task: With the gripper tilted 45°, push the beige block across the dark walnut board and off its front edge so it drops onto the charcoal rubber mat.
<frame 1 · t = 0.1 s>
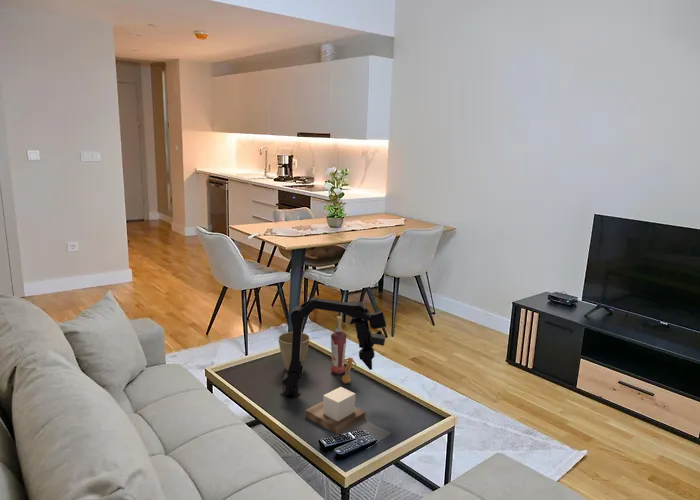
hand: (370, 364, 218), 15 cm above the table, tool pointing down, fingers open, 9 cm apart
plant pot: (293, 368, 248), on the table
beige block: (339, 412, 203), point 3 cm above the table, touching walnut board
liquor: (337, 372, 245), on the table
figurine: (347, 382, 235), on the table
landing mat: (365, 433, 195), on the table
walnut board: (335, 417, 205), on the table
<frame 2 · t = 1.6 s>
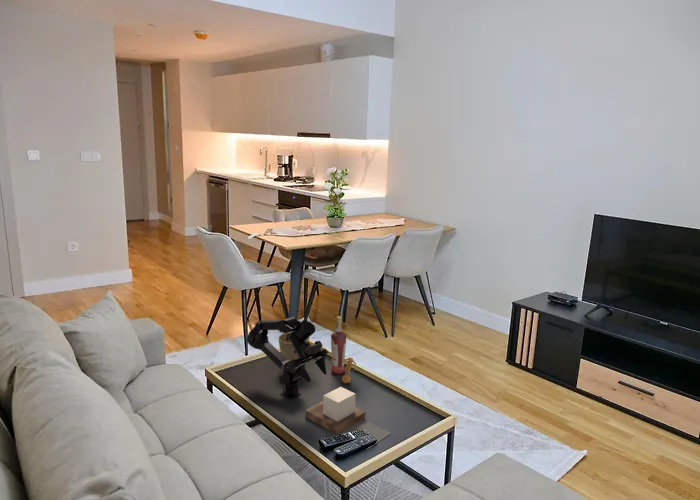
hand: (318, 377, 209), 13 cm above the table, tool tilted 45°, fingers open, 9 cm apart
nothing on the table moved.
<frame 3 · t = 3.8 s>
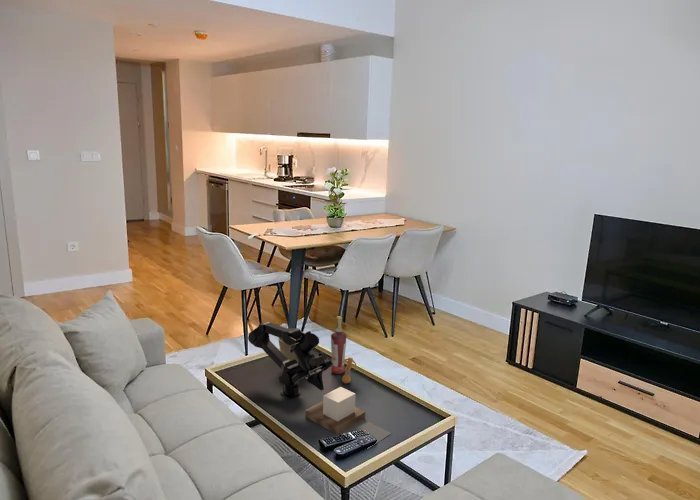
hand: (322, 390, 208), 9 cm above the table, tool tilted 45°, fingers closed
nothing on the table moved.
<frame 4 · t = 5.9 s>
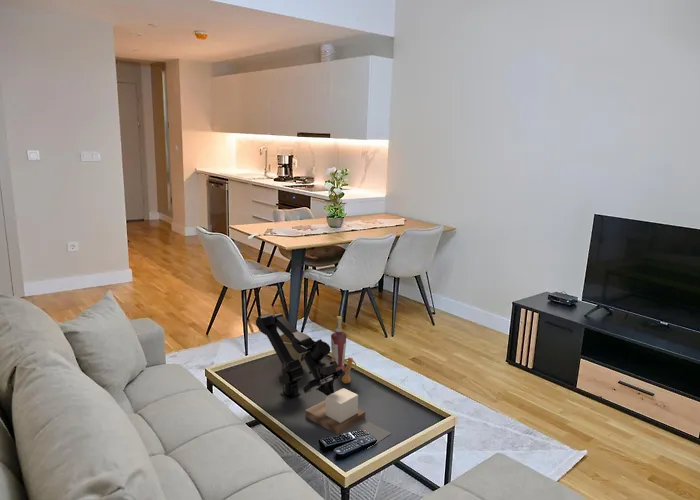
hand: (334, 399, 204), 8 cm above the table, tool tilted 45°, fingers closed, pressing on beige block
beige block: (341, 414, 202), point 3 cm above the table, touching gripper
everything else where it was.
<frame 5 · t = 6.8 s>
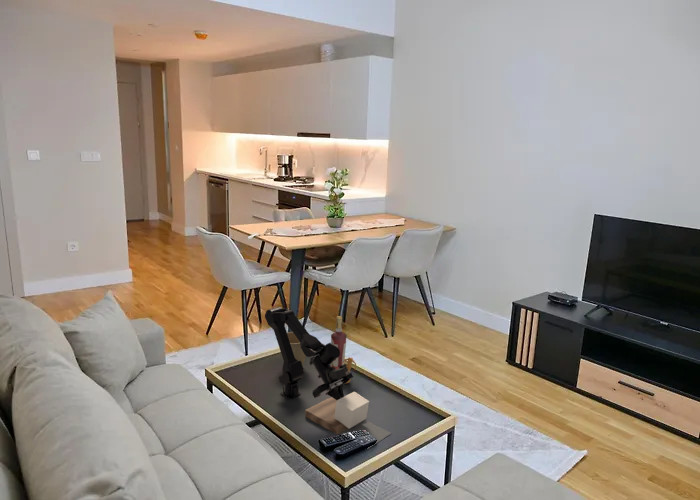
hand: (343, 403, 200), 8 cm above the table, tool tilted 45°, fingers closed, pressing on beige block
beige block: (350, 418, 199), point 3 cm above the table, tilted 8°, touching gripper
everything else where it was.
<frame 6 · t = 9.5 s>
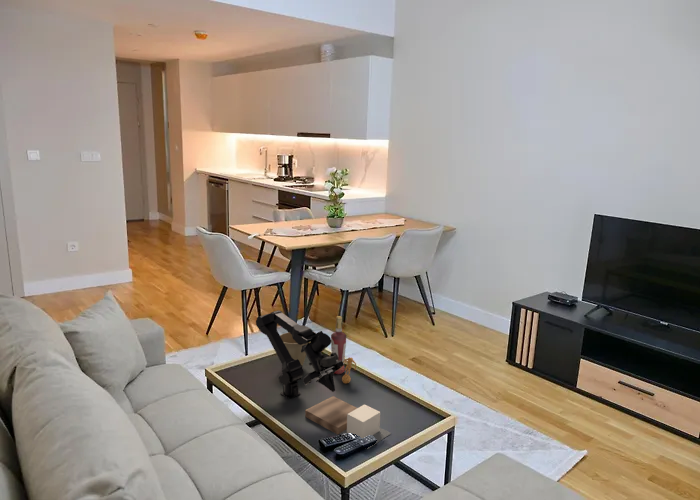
hand: (334, 391, 203), 11 cm above the table, tool tilted 45°, fingers closed
beige block: (355, 418, 197), point 4 cm above the table, tilted 90°, touching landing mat
everything else where it was.
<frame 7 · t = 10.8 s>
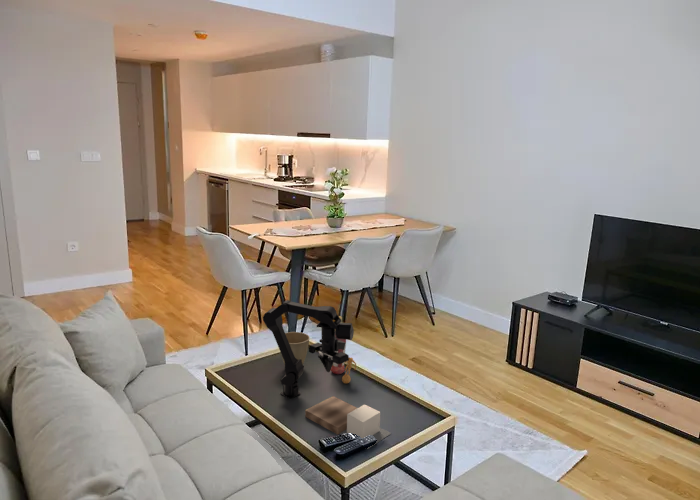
hand: (328, 371, 216), 13 cm above the table, tool pointing down, fingers closed
nothing on the table moved.
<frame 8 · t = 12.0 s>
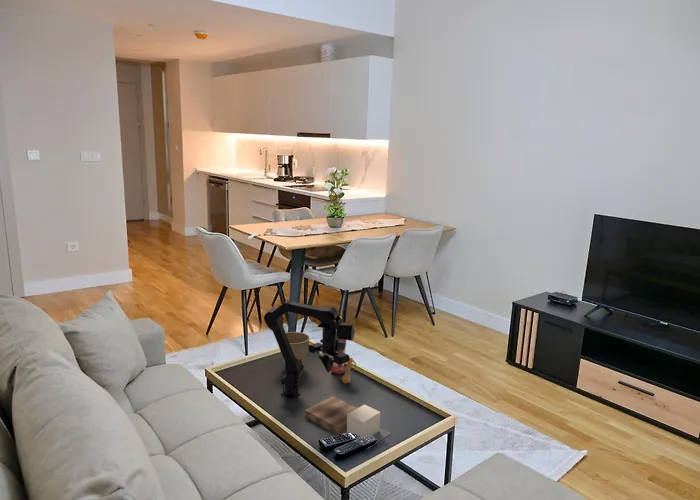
hand: (328, 371, 216), 13 cm above the table, tool pointing down, fingers closed
nothing on the table moved.
at the end: beige block touching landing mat; beige block inside the target area on the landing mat (5.2 cm from its centre), point 4.2 cm above the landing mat's base; beige block moved 8.9 cm from its start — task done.
